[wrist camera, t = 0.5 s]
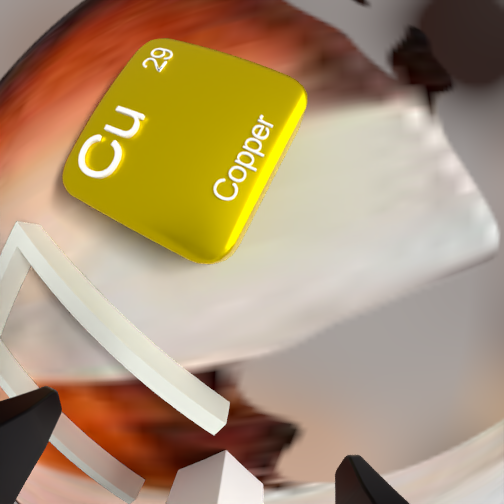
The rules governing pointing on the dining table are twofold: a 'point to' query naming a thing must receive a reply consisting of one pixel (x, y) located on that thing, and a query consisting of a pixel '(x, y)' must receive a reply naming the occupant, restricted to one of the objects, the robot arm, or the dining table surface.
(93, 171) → the element tile
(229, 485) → the milk
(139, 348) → the u rest
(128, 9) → the dining table surface
